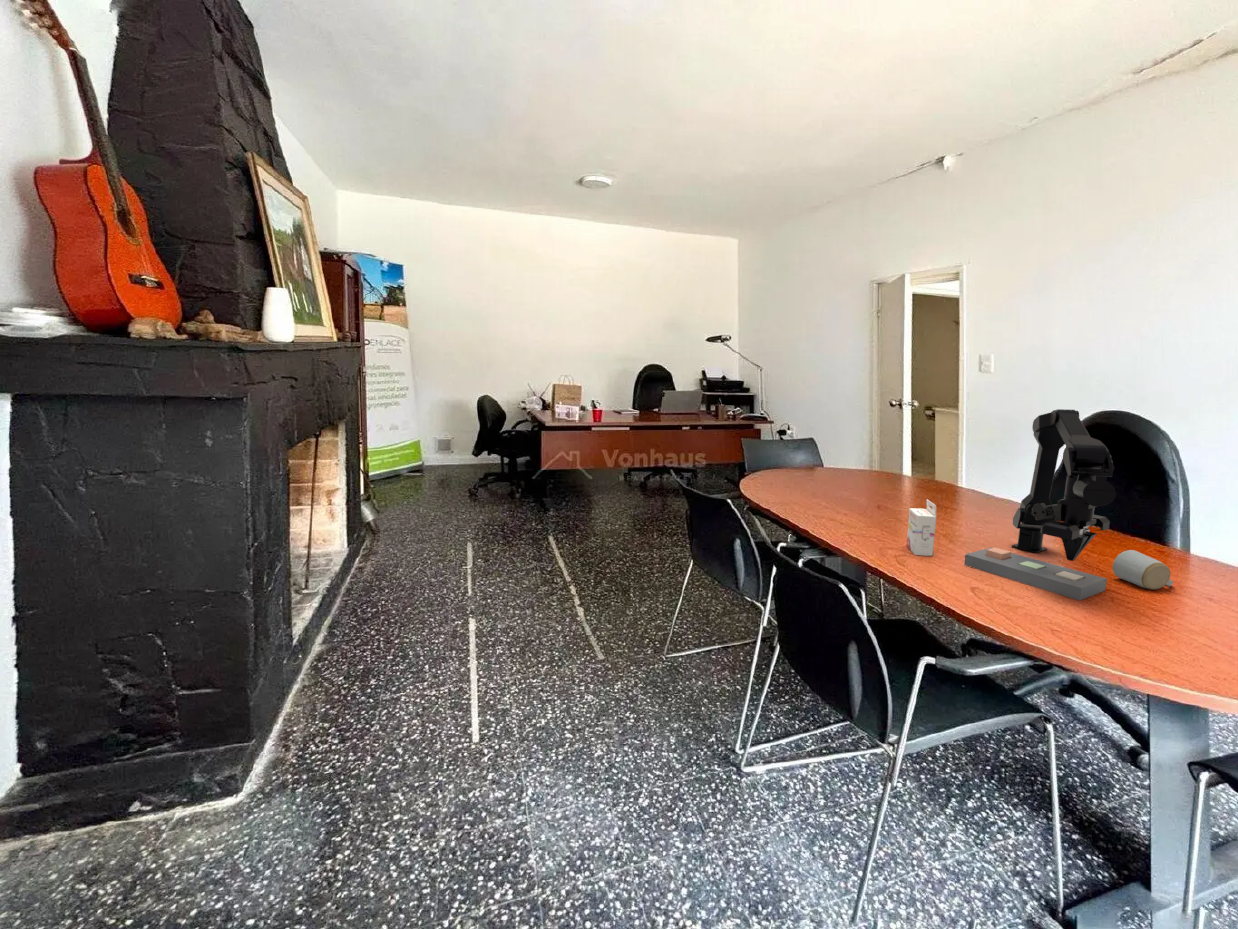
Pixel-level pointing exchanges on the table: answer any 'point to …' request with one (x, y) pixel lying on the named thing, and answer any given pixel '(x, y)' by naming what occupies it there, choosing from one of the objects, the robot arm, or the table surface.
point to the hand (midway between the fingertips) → (1070, 560)
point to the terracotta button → (998, 553)
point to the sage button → (1032, 565)
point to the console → (1038, 574)
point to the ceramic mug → (1141, 570)
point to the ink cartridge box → (922, 530)
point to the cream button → (1069, 576)
